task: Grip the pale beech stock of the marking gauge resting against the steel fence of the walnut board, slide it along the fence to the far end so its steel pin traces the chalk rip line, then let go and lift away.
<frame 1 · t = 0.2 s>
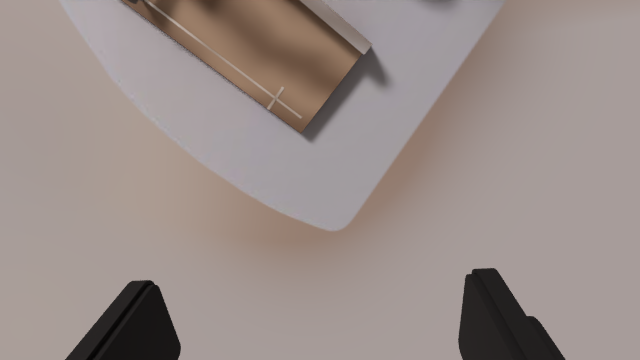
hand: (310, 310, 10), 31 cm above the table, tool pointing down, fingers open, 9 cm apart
board: (239, 12, 35), on the table
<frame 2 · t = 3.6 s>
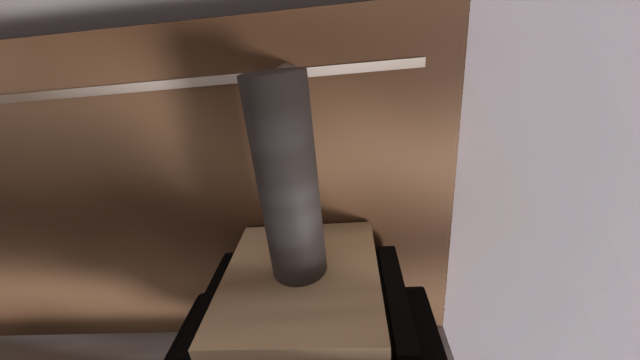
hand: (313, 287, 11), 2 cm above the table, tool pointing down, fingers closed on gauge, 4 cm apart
gauge: (298, 264, 8), point 4 cm above the table, slide at -8.0 cm, touching gripper
board: (107, 206, 13), on the table
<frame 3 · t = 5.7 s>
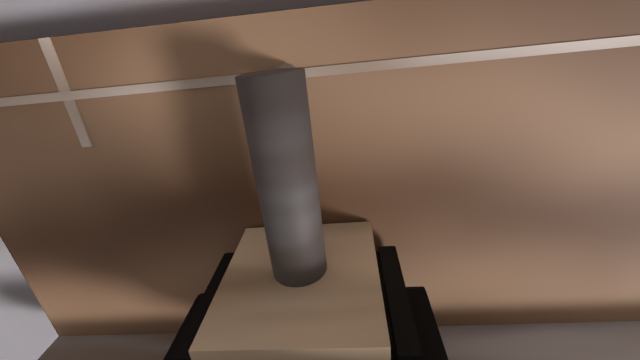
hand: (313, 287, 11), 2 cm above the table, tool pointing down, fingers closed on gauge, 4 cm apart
gauge: (298, 264, 8), point 4 cm above the table, slide at 1.7 cm, touching gripper
board: (358, 191, 12), on the table
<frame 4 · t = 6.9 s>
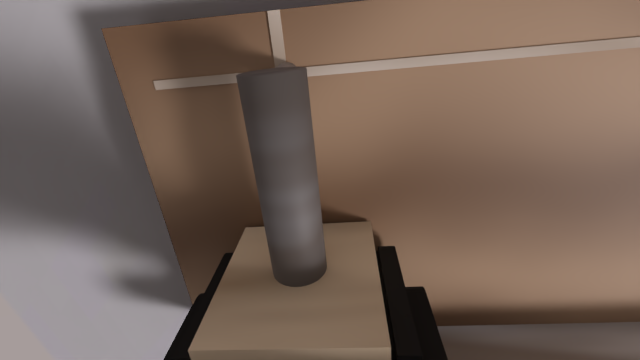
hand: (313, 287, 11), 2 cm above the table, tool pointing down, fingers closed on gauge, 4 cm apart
gauge: (298, 263, 8), point 4 cm above the table, slide at 7.8 cm, touching gripper
board: (534, 181, 12), on the table
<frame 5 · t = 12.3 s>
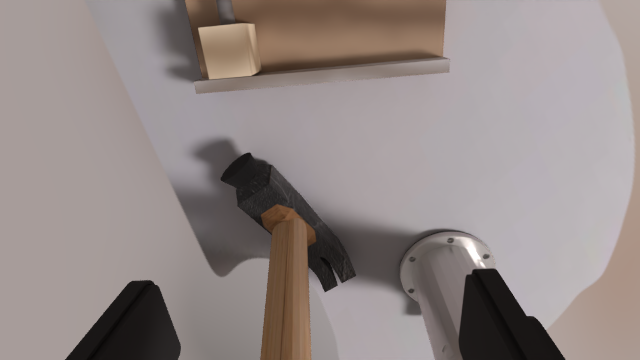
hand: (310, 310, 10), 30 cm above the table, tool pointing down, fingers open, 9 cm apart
hammer: (294, 212, 44), on the table
gauge: (227, 22, 31), point 4 cm above the table, slide at 8.0 cm
board: (315, 17, 34), on the table
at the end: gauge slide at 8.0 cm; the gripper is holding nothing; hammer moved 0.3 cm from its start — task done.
